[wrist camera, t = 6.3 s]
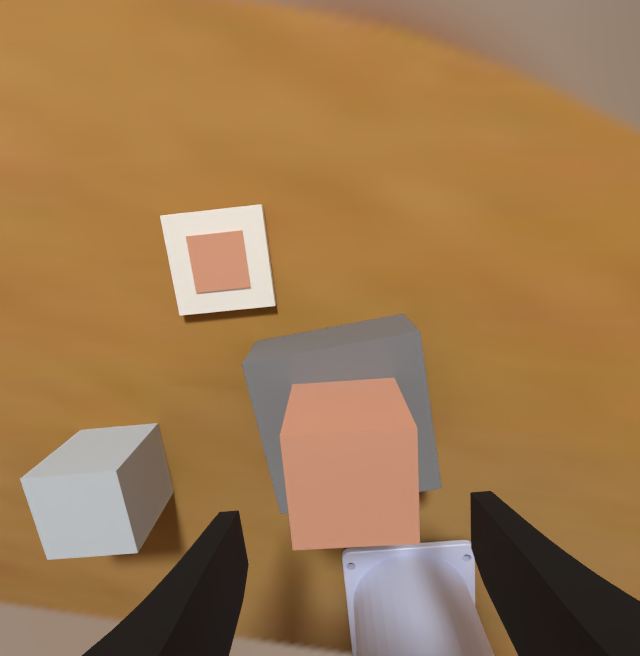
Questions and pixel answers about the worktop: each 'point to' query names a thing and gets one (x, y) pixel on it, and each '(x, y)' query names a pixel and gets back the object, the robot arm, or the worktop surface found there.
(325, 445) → the terracotta cube
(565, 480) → the worktop surface
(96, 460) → the light gray cube
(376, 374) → the charcoal base block
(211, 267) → the tile
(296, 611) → the worktop surface
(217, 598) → the robot arm
